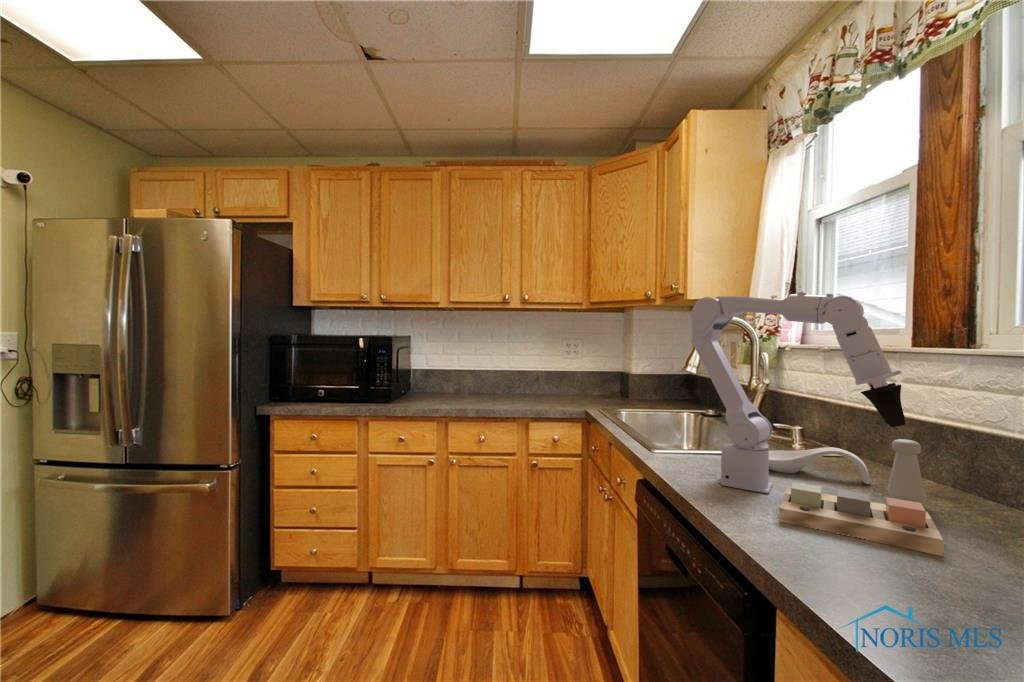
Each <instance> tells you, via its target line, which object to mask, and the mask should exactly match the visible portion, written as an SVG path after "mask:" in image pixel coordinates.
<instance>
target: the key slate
mask: <svg viewBox="0 0 1024 682" xmlns="http://www.w3.org/2000/svg"><path fill="white" fill-rule="evenodd" d="M836 496H837V511H838V512H843V513H849V514H854V515H859V516H865V517H870V502H871V498H870V495H869V493H861V492H857V491H856V492H855V491H850V490H845V489H839V488H837V489H836Z"/></svg>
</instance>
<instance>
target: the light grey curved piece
mask: <svg viewBox="0 0 1024 682" xmlns="http://www.w3.org/2000/svg"><path fill="white" fill-rule="evenodd" d="M829 455H830V456H831V455H835V456H837V455H838V456H840V457H844V458H846V459H848V460H850V461H852V462H853V463H854V464H855V465H856V466H857V467H858V468H859V471H860V473H861V478H862V479H861V480H862V482H863V483H864V484H865V485H870V484H871V479H870V474H869V470H868V468H867V465H866V463H864V461H863V460H862V459H861V458H860V457H859V456H857V454H854V453H852V452H850V451H848V450H845V449H842V448H838V447H832V446H830V447H828V446H827V447H826V446H825V447H818V448H812V449H805V450H804V449H802V450H769V471H774V472H777V473H782V472H783V473H784V474H797V473H798V472H799V471H801V470H803V469H804V468H805V467H806V466H808V465H810V464H811V463H812V462H815V461H816V460H817V459H820V458H822V457H824V456H829Z"/></svg>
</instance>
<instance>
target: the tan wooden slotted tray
mask: <svg viewBox="0 0 1024 682" xmlns="http://www.w3.org/2000/svg"><path fill="white" fill-rule="evenodd" d="M781 499H782V500H781V503H780V506H779V522H780V523H785V524H789V525H794V526H798V525H799V527H803V526H805V527H804V528H807V527H809V528H808V529H812V528H814V529H813V530H817V529H819V530H818V531H821V530H823V531H822V532H826V531H828V532H827V533H831V532H833V533H832V534H836V533H839V534H838V535H840V534H844V535H843V536H845V535H849V536H848V537H850V536H853V537H852V538H854V537H858V538H857V539H859V538H861V539H860V540H864V539H866V540H865V541H869V540H870V542H873V541H874V543H878V542H879V544H883V545H889V546H894V547H898V548H902V549H907V550H912V551H917V552H922V553H926V554H931V555H935V556H939V557H944V539H943V537H942V535H941V533H940V531H939V530H938V528H937V526H936V525H935V522H934V521H933V519H932V517H931V515H930V513H929V512H928V511H927V510H925V511H926V528H923V527H918V526H913V525H907V524H902V523H897V522H891V521H888V519H887V516H886V503H880V502H873V501H870V517H865V516H859V515H854V514H849V513H843V512H838V511H837V495H831V494H827V493H822V492H821V508H817V507H811V506H806V505H801V504H795V503H791V487H788V486H787V487H785V490H784V494H783V497H782V498H781Z"/></svg>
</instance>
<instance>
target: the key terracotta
mask: <svg viewBox="0 0 1024 682" xmlns="http://www.w3.org/2000/svg"><path fill="white" fill-rule="evenodd" d="M885 504H886V516H887V519H888V521H891V522H897V523H902V524H907V525H913V526H918V527H923V528H926V511H927V510H926V509H925V508H924V506H923V503H922V504H921V503H918V502H912V501H906V500H900V499H894V498H890V497H885Z"/></svg>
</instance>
